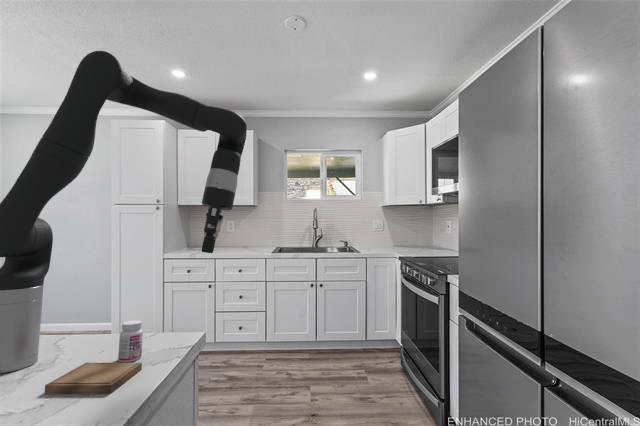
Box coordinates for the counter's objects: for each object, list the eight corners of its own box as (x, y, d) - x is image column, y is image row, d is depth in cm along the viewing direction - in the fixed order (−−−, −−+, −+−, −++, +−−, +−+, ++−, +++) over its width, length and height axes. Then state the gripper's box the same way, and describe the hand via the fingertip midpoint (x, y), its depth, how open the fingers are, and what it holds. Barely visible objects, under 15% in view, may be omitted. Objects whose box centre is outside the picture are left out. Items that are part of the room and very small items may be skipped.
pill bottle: (130, 363, 69) (132, 325, 70) (112, 362, 70) (115, 324, 71) (146, 355, 74) (148, 320, 74) (129, 354, 75) (131, 319, 75)
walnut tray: (44, 393, 56) (45, 384, 56) (85, 369, 66) (85, 362, 66) (110, 393, 56) (111, 384, 56) (141, 369, 66) (141, 361, 66)
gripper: (207, 192, 84) (194, 250, 81) (203, 179, 70) (187, 249, 67) (234, 197, 86) (223, 255, 83) (236, 186, 72) (222, 254, 69)
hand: (207, 252), depth 75 cm, fingers open, 8 cm apart
